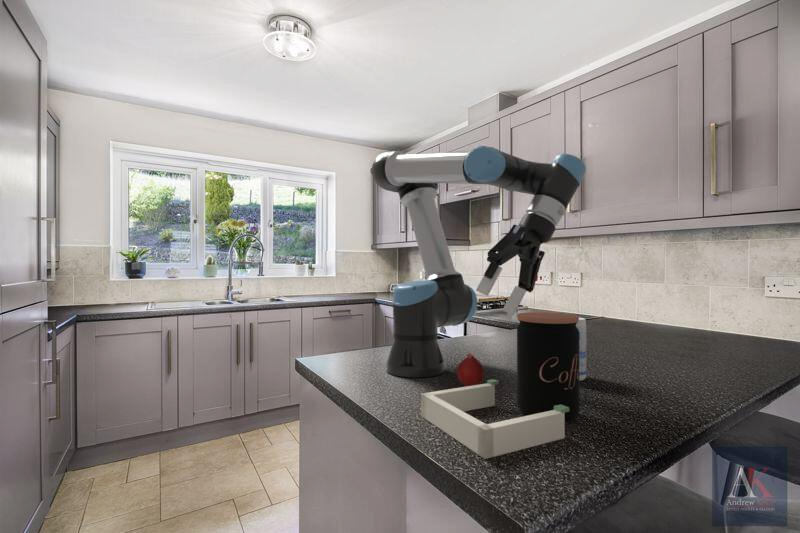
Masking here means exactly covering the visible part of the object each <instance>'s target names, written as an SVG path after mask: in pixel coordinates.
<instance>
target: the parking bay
mask: <svg viewBox="0 0 800 533" xmlns="http://www.w3.org/2000/svg"><path fill="white" fill-rule="evenodd" d="M497 385H500V381H499V380H497V379H493V378H491V379H487V380H486V383H482V384H481V383H480V384H479V385H473V386H467V387H466V386H461V387H453V388H448V389H443V390H436V391H431V392H430V391H429V392H428V391H427V392H424V393H423V392H422V393H421V394H420V396H421V398H420V412H421V413H420V416H421V417H422V418H423V419H424V420H427V421H428V422H429V423H431V424H432V425H433V426H436V427H437V428H439V429H440V430H441V431H443V432H444V433H446V434H447V435H448V436H450V437H452V438H453V439H454V440H456V441H457V442H459V443H461V444H462V445H464V446H465V447H466V448H468V449H469V450H471V452H474V453H475V454H477V455H478V456H480V457H481V458H482V459H484V460H486V459H490V458H491V459H492V458H494V457H498V456H502V455H505V454H506V455H507V454H510V453H513V452H517V451H521V450H525V449H529V448H533V447H536V446H540V445H543V444H547V443H551V442H556V441H559V440H562V439H563V440H564V439H565V438H566V437H565V436H566V434H565V430H566V429H565V424H566V423H565V415H564V413H565V412H569V407H566V406H564V405H556V406H554V410H551V411H547V412H542V413H537V414H533V415H528V416H525V415H524V416H519V417H515V418H511V419H506V420H501V421H496V422H495V421H494V422H492V423H491V422H490V423H485V422H483V421H482V420H480V419H478V418H475V417H474V416H472V415H471V414H468V413H466V412H468V411H473V410H479V409H484V408H490V407H495V405H496V402H495V401H496V398H495V397H496V396H495V394H496V388H495V387H496V386H497Z"/></svg>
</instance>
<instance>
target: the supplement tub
mask: <svg viewBox="0 0 800 533" xmlns="http://www.w3.org/2000/svg"><path fill="white" fill-rule="evenodd" d="M586 320H587V319H586V318H584V317H580V316H579V321H578V322H577V324H576V327H577V328H578V330H579V382H582V381H584V380H585V379H586V378H587V321H586Z"/></svg>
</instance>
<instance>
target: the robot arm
mask: <svg viewBox="0 0 800 533" xmlns="http://www.w3.org/2000/svg"><path fill="white" fill-rule="evenodd" d="M372 162H373V163H372V165H371V166H372V167H371V175H372V178H373V180H374V183H376V185H377V186H379V187H380V188H381V189H383V190H386V191H389V192H394V193H398V195H399V200H400V202H401V205H402V206H403V207H406V208H407V211H408V214H409V217H410V221H411V225H412V229H413V232H414V236H415V239H416V244H417V247H418V251H419V255H420V258H421V263H422V265H423V269H424V273H425V277H426V280H416V281H415V280H413V281H408V282H407V281H406V282H401V283H399V284H396V286H395V287H394V288H393V299H392V308H393V309H392V312H393V313H392V314H393V315H392V318H393V320H392V321H393V322H392V323H393V325H392V327H393V328H392V330H393V331H392V333H393V334H392V335H393V338H392V339H393V341H392V344H391V347H390V351H389V352H388V356H387V359H386V372H388V374H390V375H393V376H395V377H396V376H397V377H401V378H402V377H404V378H429V377H430V378H431V377H434V376H435V377H436V376H440V375H441V374H444V372H445V362H444V361H445V360H444V358H443V354H442V351H441V348H440V345H439V341H438V328H443V327H449V326H453V327H454V326H456V327H457V326H459V325H462V324H465V323H468V322H469V321H470V320H471V319H472V318H473V317H474V315H475V313H476V311H477V307H478V297H477V294H476V292H478V293H481V294H482V295H484V296H487V297H488V296H489V294H490V292H491V291H492V289H493V287H494V285H495V284H496V281H497V280H498V279H499V278H498V277H500V274H501V272H502V270H503V268H502V267H501V266H503V265H504V264H505V263H508V262H509V261H511V259H513V258H515V257H516V256H518V257H519V259H518V260H519V262H520V267H519V274H518V276H519V277H518V284H517V285H515V286H514V287H513V290H512V292H511V294H510V296H509V297H508V299H507V301H506V303H505V304H504V306H503V307H502V308H503V309H502V311H503V312H504V313H506V314H510V315H511V316H514V315H515V314H516V312H517V310H518V308H519V306H520V304H521V302H522V300H523V299H524V298H525V297H524V296H525V295H526V293H527V292H528V293H532V292H533V291H534V289H535V286H536V282H537V278H538V275H539V270H540V268H541V264H542V260H543V258H544V256H545V254H546V252H545V251H543V250H541V249H540V247H541V245H542V244H546V243H548V242H550V240H551V238H552V237H553V235H554V233H555V232H556V227H557V226H558V225H559V223H560V222H561V219H562V217H563V216H564V215H565V214H566V210H567V208H568V205H569V204H570V203H571V201H572V199H573V198H574V195H575V193H576V192H577V190H578V188H579V187H580V186H581V182H582V181H583V178H584V176H585V175H586V171H587V166H586V164H585V163H584V162H583V160H582V159H580V158H579V157H578V156H576V155H573V154H569V153H561V154H557V155H556V156H555V157H554V158H553V160H552V161H551V162H550V163H546V162H544V163H543V162H537V161H530V160H525V159H524V158H523V159H522V158H520V157H518V156H515V155H512V154H510V153H507V152H504V151H502V150H499V149H497V148H496V147H494V146H486V145H477V146H475V147H473V149H470V150H463V151H445V152H426V153H409V154H407V153H405V152H404V151H401V150H392V151H391V150H390V151H384V152H381V153H380V154H378V155H377V156H376V157H375V159H374V160H373V161H372ZM440 184H459V185H460V184H462V185H463V184H465V185H466V184H467V185H468V184H469V185H470V184H472V185H489V186H495V187H498V188H500V189H503V190H505V191H509V192H517V193H522V194H527V195H533V198H532V199H531V201H530V202H529V204H528V206H527V208H526V210H525V214H523V216H522V217H521V220H520V221H519V223H518V225H517V224H512V226H511V228H510V230H509V231H508V232H507V233H506V234H505V235H504V236H503V237H502V238H501V239H500V240H498V242H497V243H495V245H494V246H493V247H492V248H491V249H490V250H488V252H487V257H486V261H487V262H488V263H489V264H488V267H487V268H486V269H485V272H484V274H483V276H482V278H481V280H480V282H479V283H478V285H477V287H476V289H475V290H474V289H473V287H470V285H468V284H466V283H465V282H464V278H463V275H462V273H460V272H459V271H457V270H456V269H455V266H454V263H453V260H452V256H451V253H450V249H449V246H448V243H447V242H448V241H447V239H446V235H445V232H444V229H443V226H442V222H441V219H440V215H439V212H438V208H437V205H436V202H435V199H436V197H437V195H438V192H437V191H438V189H439V185H440ZM475 291H476V292H475Z"/></svg>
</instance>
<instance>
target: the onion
mask: <svg viewBox="0 0 800 533" xmlns="http://www.w3.org/2000/svg"><path fill="white" fill-rule="evenodd" d="M456 373H457V378H458V380H459V382H460V383H461V384H462V385H463V386H464V387H467V386H473V385H480V384H481V383H483V380H484V377H485V370H484V367H483V365H482V364H481V362H480V361H479V360H478V359H477V358H476V357H474V354H472V353H470V352H469V353H467V354H466V357H465V358H464V359H462V360H461V361H460V363H459V364H458V367H457V371H456Z"/></svg>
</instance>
